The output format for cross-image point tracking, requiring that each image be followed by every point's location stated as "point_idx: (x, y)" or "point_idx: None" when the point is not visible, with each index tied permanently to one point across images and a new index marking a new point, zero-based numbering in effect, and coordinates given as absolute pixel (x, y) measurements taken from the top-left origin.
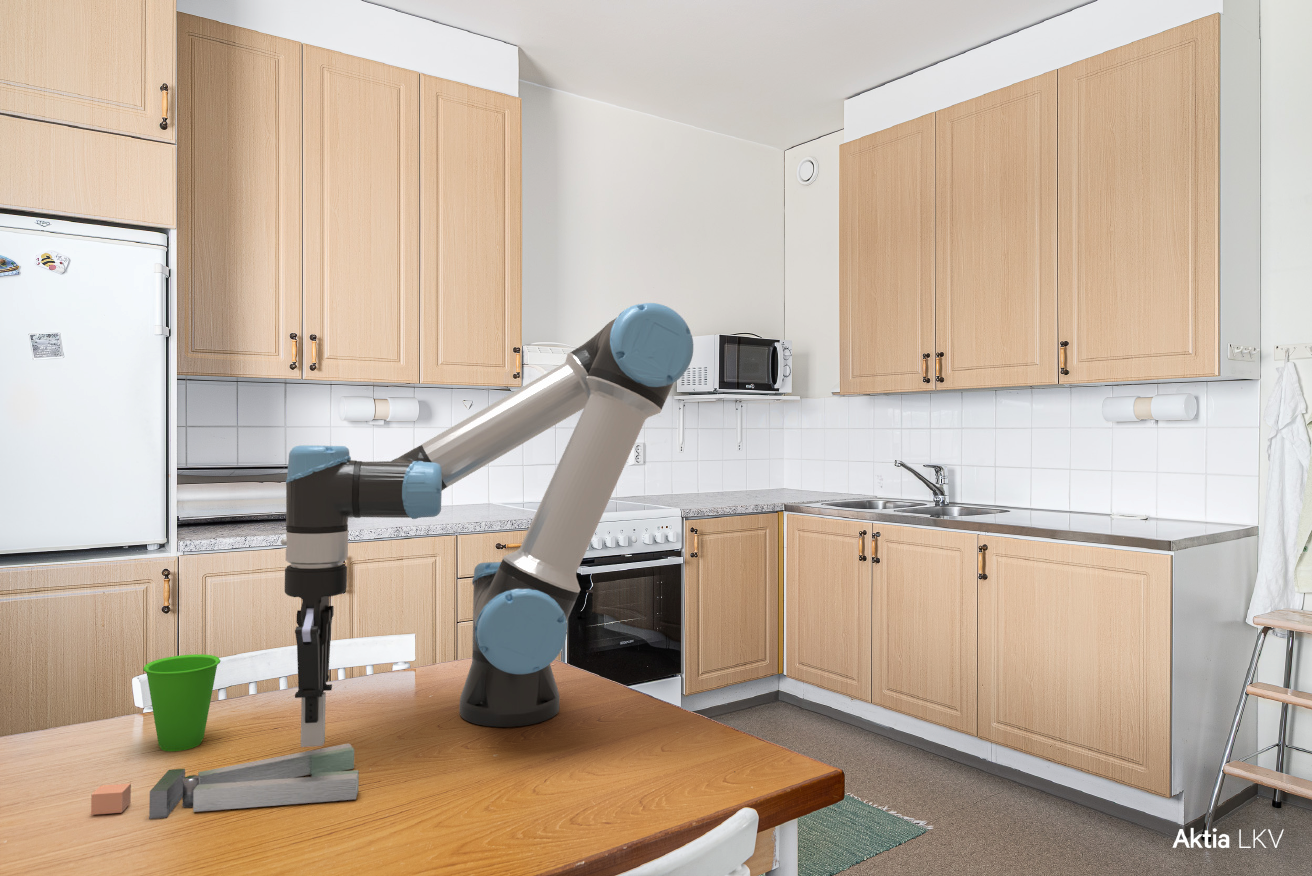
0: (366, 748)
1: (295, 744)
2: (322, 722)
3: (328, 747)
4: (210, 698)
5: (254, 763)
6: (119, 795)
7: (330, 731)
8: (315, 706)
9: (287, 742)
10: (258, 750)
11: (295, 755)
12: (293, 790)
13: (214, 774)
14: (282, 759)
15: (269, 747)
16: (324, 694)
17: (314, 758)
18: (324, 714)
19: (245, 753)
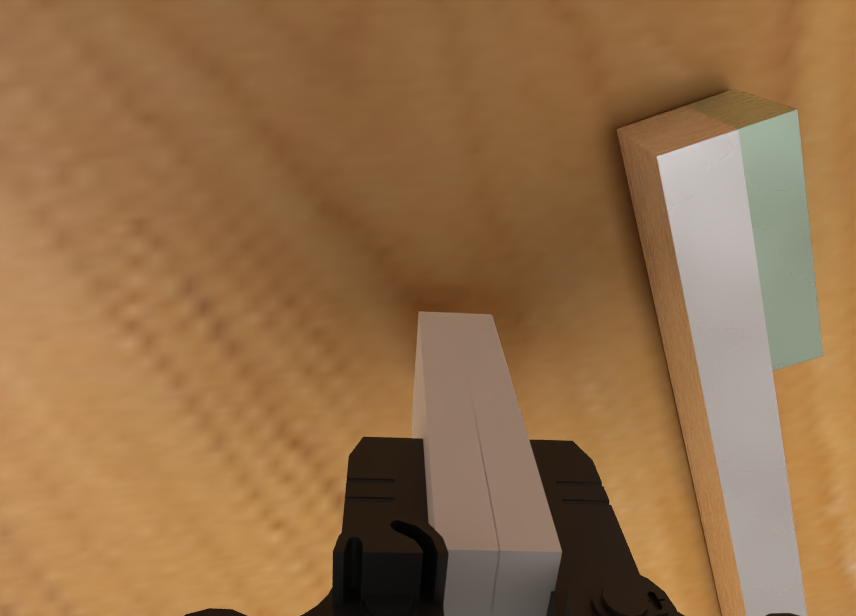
0: (365, 28)
1: (224, 437)
2: (516, 399)
3: (686, 284)
4: None
5: (775, 593)
6: None
7: (9, 288)
8: (624, 544)
9: (188, 476)
10: (287, 570)
11: (746, 442)
12: None
13: None
14: (778, 492)
15: (252, 537)
16: (514, 550)
17: (819, 340)
18: (466, 419)
19: None
